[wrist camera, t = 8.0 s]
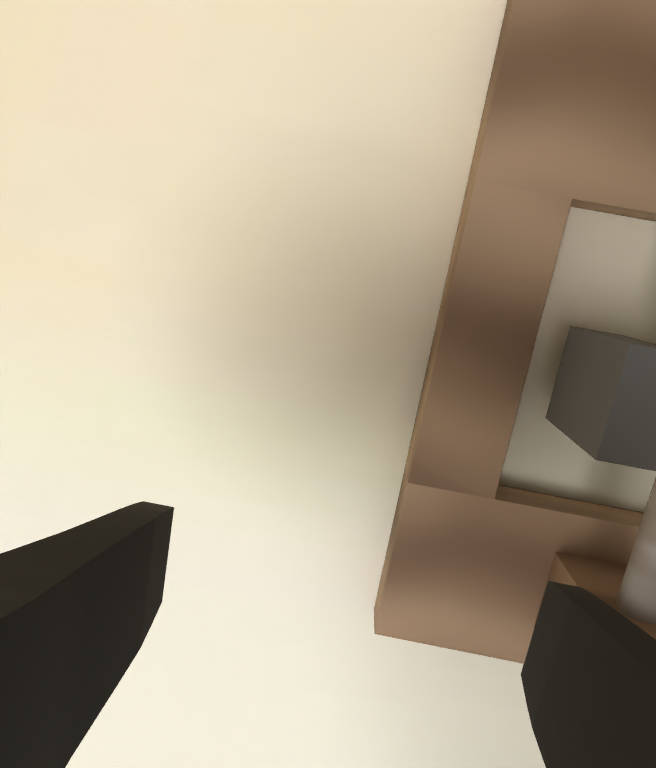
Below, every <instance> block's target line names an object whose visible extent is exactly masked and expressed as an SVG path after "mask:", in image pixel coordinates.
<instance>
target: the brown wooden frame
mask: <svg viewBox="0 0 656 768" xmlns="http://www.w3.org/2000/svg"><path fill="white" fill-rule="evenodd" d="M570 206H572V207H577V208H583V209H589V210H594V211H600V212H606V213H611V214H617V215H623V216H628V217H634V218H639V219H645V220H651V221H656V0H508V1H507V5H506V10H505V15H504V19H503V24H502V28H501V33H500V37H499V42H498V47H497V51H496V56H495V60H494V65H493V69H492V74H491V78H490V83H489V88H488V92H487V97H486V101H485V106H484V110H483V115H482V119H481V124H480V129H479V133H478V138H477V142H476V147H475V151H474V156H473V161H472V165H471V170H470V174H469V179H468V183H467V188H466V192H465V197H464V202H463V206H462V211H461V215H460V220H459V224H458V229H457V233H456V238H455V243H454V247H453V252H452V256H451V261H450V265H449V270H448V275H447V279H446V284H445V288H444V293H443V297H442V302H441V306H440V311H439V316H438V320H437V325H436V329H435V334H434V338H433V343H432V347H431V352H430V357H429V361H428V366H427V370H426V375H425V379H424V384H423V389H422V393H421V398H420V402H419V407H418V411H417V416H416V420H415V425H414V430H413V434H412V439H411V443H410V448H409V452H408V457H407V461H406V466H405V471H404V475H403V480H402V484H401V489H400V493H399V498H398V503H397V507H396V512H395V516H394V521H393V525H392V530H391V534H390V539H389V544H388V548H387V553H386V557H385V562H384V566H383V571H382V575H381V580H380V585H379V589H378V594H377V598H376V603H375V607H374V629H375V634H378V635H383V636H388V637H393V638H398V639H403V640H408V641H413V642H418V643H423V644H428V645H433V646H438V647H443V648H448V649H453V650H458V651H464V652H469V653H474V654H479V655H484V656H489V657H494V658H499V659H504V660H509V661H514V662H519V663H524V662H525V658H526V655H527V652H528V648H529V645H530V641H531V638H532V634H533V631H534V627H535V624H536V621H537V617H538V614H539V610H540V607H541V603H542V600H543V597H544V593H545V590H546V586H547V583H548V581H552V582H557V583H562V584H567V585H572V586H577V587H581V588H583V589H585V590H587V591H588V592H590V593H592V594H593V595H595V596H596V597H598V598H599V599H601V600H602V601H604V602H605V603H607V604H608V605H610V606H611V607H612V608H614V609H615V610H617V611H618V612H619V613H621V614H622V615H623V616H625V617H626V618H627V619H629V620H630V621H631V622H633V623H634V624H636V625H637V626H638V627H640V628H641V629H642V630H644V631H645V632H646V633H648V634H649V635H650V636H652V637H653V638H654V639H656V478H655V481H654V484H653V488H652V491H651V494H650V497H649V500H648V503H647V506H646V509H645V512H644V513H640V512H635V511H630V510H625V509H619V508H614V507H609V506H604V505H599V504H593V503H588V502H583V501H578V500H572V499H567V498H562V497H557V496H552V495H546V494H541V493H536V492H531V491H525V490H520V489H515V488H510V487H504V486H499V485H498V483H499V480H500V476H501V472H502V468H503V464H504V460H505V456H506V453H507V449H508V445H509V441H510V437H511V433H512V429H513V426H514V422H515V418H516V414H517V410H518V406H519V402H520V399H521V395H522V391H523V387H524V383H525V379H526V375H527V371H528V368H529V364H530V360H531V356H532V352H533V348H534V344H535V341H536V337H537V333H538V329H539V325H540V321H541V317H542V314H543V310H544V306H545V302H546V298H547V294H548V290H549V287H550V283H551V279H552V275H553V271H554V267H555V263H556V259H557V256H558V252H559V248H560V244H561V240H562V236H563V232H564V229H565V225H566V221H567V217H568V213H569V209H570Z"/></svg>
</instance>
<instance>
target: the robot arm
mask: <svg viewBox="0 0 656 768" xmlns="http://www.w3.org/2000/svg"><path fill="white" fill-rule="evenodd" d="M173 511H174V507H169V506H164V505H159V504H154V503H149V502H144V501H143V502H139V503H135V504H132V505H129V506H127V507H124V508H121V509H119V510H116V511H114V512H111V513H109V514H106V515H104V516H101V517H99V518H97V519H94V520H92V521H89V522H86V523H84V524H81V525H79V526H76V527H74V528H71V529H69V530H66V531H64V532H61V533H59V534H56V535H53V536H50V537H47V538H44V539H41V540H39V541H36V542H33V543H30V544H27V545H24V546H22V547H19V548H16V549H13V550H10V551H7V552H4V553H1V554H0V768H65V767H66V765H67V763H68V762H69V760H70V758H71V757H72V755H73V754H74V752H75V750H76V749H77V747H78V746H79V744H80V743H81V741H82V740H83V738H84V736H85V735H86V733H87V732H88V730H89V729H90V727H91V725H92V724H93V722H94V721H95V719H96V718H97V716H98V714H99V713H100V711H101V710H102V708H103V707H104V705H105V704H106V702H107V700H108V699H109V697H110V696H111V694H112V693H113V691H114V689H115V688H116V686H117V685H118V683H119V682H120V680H121V678H122V677H123V675H124V674H125V672H126V670H127V669H128V667H129V666H130V664H131V662H132V661H133V659H134V658H135V656H136V654H137V653H138V651H139V650H140V648H141V646H142V644H143V641H144V639H145V637H146V635H147V633H148V631H149V629H150V627H151V625H152V623H153V620H154V618H155V616H156V614H157V612H158V609H159V607H160V605H161V603H162V597H163V589H164V581H165V573H166V565H167V558H168V550H169V542H170V534H171V526H172V519H173ZM521 677H522V682H523V687H524V692H525V697H526V702H527V707H528V711H529V716H530V720H531V724H532V728H533V731H534V734H535V737H536V740H537V743H538V746H539V749H540V752H541V755H542V758H543V760H544V763H545V766H546V768H656V639H654V638H653V637H652V636H650V635H649V634H648V633H646V632H645V631H644V630H642V629H641V628H640V627H638V626H637V625H636V624H634V623H633V622H631V621H630V620H629V619H627V618H626V617H625V616H623V615H622V614H621V613H619V612H618V611H617V610H615V609H614V608H612V607H611V606H610V605H608V604H607V603H605V602H604V601H602V600H601V599H599V598H598V597H596V596H595V595H593V594H592V593H590V592H588V591H587V590H585V589H583V588H581V587H577V586H572V585H567V584H562V583H557V582H552V581H548V583H547V586H546V590H545V593H544V597H543V600H542V603H541V607H540V610H539V614H538V617H537V621H536V624H535V627H534V631H533V634H532V638H531V641H530V645H529V648H528V652H527V655H526V658H525V662H524V665H523V669H522V672H521Z"/></svg>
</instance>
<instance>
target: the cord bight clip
mask: <svg viewBox="0 0 656 768" xmlns="http://www.w3.org/2000/svg"><path fill="white" fill-rule="evenodd" d="M546 419H548V420H549V421H550V422H551V423H552V424H554V425H555V426H556V427H557V428H558V429H560V430H561V431H562V432H563V433H564V434H565V435H567V436H568V437H569V438H570V439H571V440H573V441H574V442H575V443H576V444H577V445H579V446H580V447H581V448H582V449H583V450H585V451H586V452H587V453H588V454H589V455H591V456H592V457H593V458H594V459H595V460H599V461H605V462H610V463H615V464H621V465H626V466H631V467H637V468H642V469H647V470H653V471H656V345H655V344H651V343H647V342H644V341H640V340H636V339H633V338H629V337H625V336H622V335H616V334H611V333H605V332H600V331H595V330H589V329H584V328H578V327H573V326H570V330H569V333H568V337H567V341H566V345H565V348H564V352H563V356H562V359H561V363H560V367H559V370H558V374H557V378H556V381H555V385H554V389H553V393H552V396H551V400H550V404H549V407H548V411H547V415H546Z"/></svg>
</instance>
